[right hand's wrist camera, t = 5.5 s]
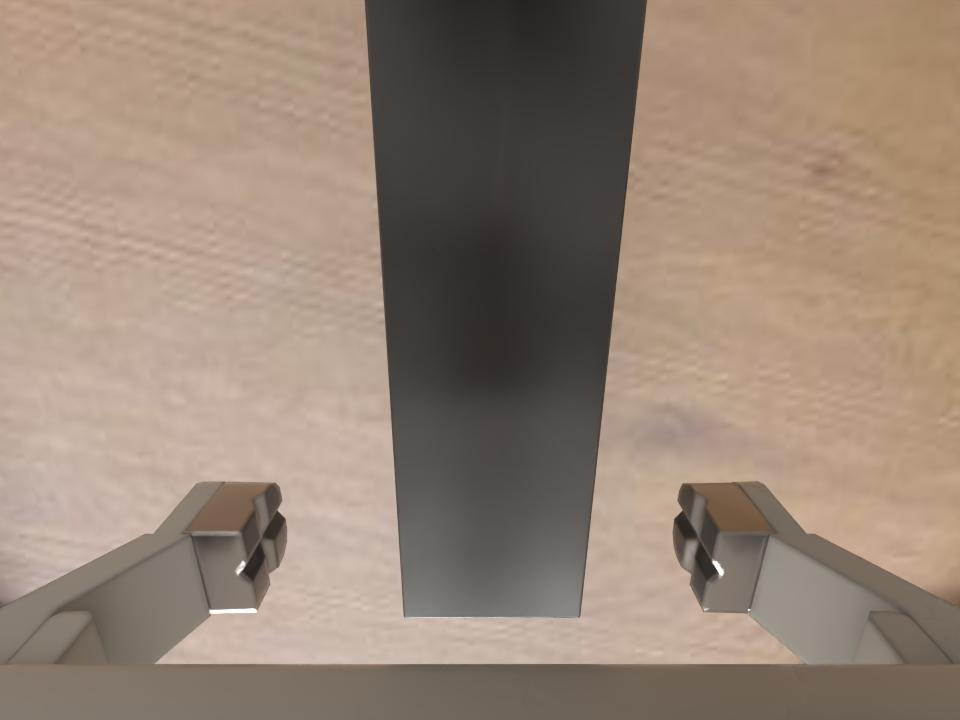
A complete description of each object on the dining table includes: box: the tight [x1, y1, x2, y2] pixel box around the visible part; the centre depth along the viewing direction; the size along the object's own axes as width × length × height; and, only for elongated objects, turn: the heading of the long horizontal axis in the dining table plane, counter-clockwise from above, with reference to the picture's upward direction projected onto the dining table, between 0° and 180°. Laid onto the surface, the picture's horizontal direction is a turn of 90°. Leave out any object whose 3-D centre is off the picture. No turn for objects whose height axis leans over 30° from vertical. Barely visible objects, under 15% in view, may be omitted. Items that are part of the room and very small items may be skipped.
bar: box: [365, 0, 647, 618], centre depth 13 cm, size 23×5×8 cm, turn 179°
